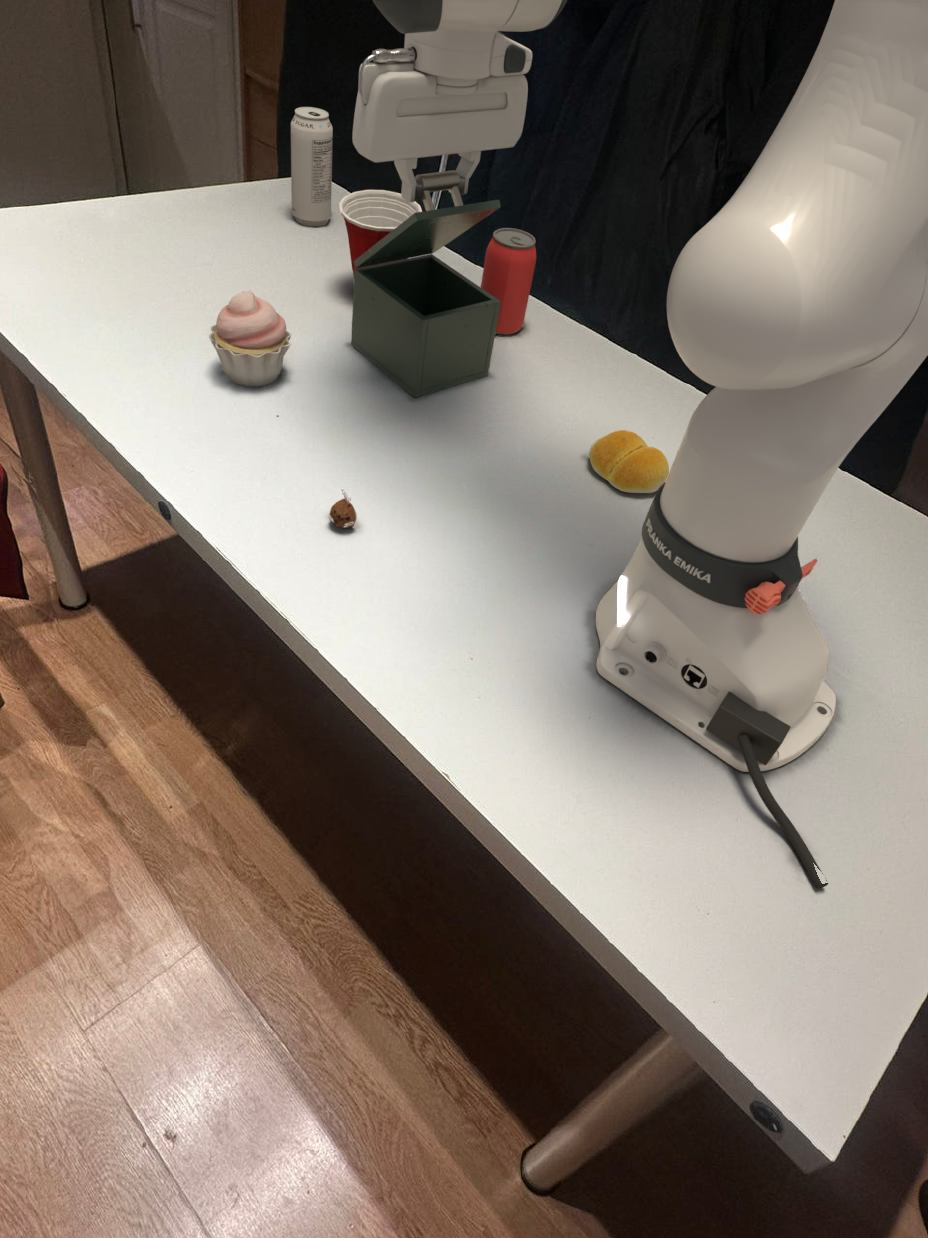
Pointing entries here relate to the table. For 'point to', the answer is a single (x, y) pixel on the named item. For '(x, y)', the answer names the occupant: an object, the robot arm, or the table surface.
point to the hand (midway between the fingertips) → (434, 196)
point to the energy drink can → (311, 166)
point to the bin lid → (429, 223)
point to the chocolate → (343, 513)
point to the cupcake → (250, 340)
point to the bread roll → (629, 462)
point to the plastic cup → (373, 218)
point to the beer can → (510, 275)
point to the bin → (423, 323)
